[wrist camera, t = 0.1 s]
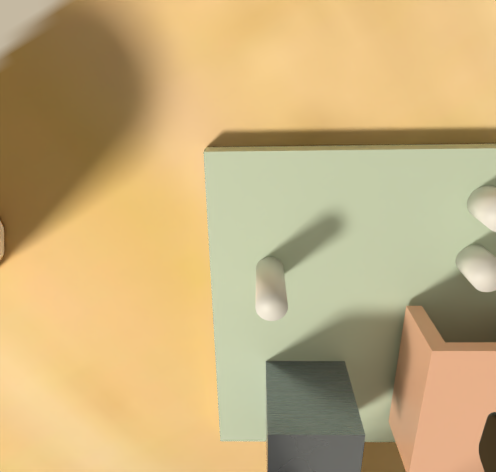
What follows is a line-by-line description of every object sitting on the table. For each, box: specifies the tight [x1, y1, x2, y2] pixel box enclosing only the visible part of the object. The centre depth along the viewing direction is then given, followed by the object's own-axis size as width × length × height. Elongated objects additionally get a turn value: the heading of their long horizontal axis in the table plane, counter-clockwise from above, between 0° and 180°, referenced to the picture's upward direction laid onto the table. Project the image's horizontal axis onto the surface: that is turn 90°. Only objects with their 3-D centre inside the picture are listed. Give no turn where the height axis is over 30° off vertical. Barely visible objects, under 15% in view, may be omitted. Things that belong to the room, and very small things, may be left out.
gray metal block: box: [266, 361, 365, 472], centre depth 23 cm, size 4×4×5 cm
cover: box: [388, 306, 496, 472], centre depth 22 cm, size 8×6×4 cm
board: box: [204, 144, 496, 442], centre depth 22 cm, size 18×16×4 cm
